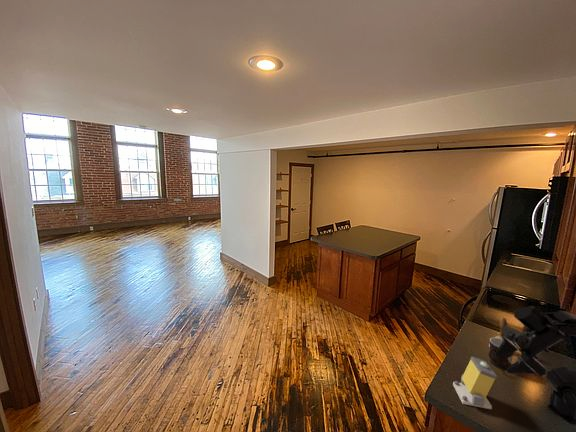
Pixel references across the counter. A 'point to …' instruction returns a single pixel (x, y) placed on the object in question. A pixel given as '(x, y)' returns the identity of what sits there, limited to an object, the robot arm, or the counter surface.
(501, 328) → the hand bell
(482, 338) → the counter surface
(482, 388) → the yellow block on base
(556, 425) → the counter surface
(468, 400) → the base
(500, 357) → the coffee mug
